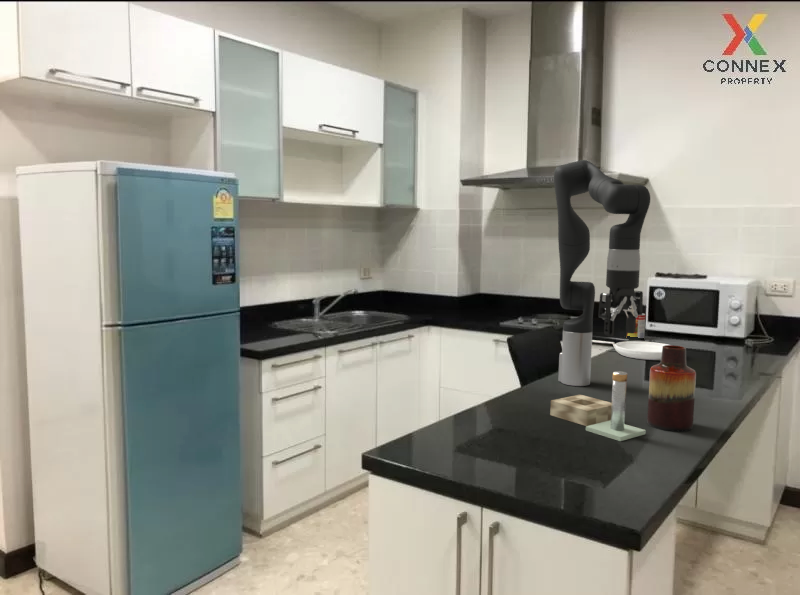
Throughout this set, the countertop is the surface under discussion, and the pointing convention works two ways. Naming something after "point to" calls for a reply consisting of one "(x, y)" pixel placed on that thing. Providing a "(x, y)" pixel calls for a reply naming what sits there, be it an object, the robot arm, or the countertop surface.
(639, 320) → the canned food
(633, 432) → the pad
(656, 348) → the pan
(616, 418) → the flashlight
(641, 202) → the robot arm
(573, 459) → the countertop surface
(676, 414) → the vase
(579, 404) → the block
